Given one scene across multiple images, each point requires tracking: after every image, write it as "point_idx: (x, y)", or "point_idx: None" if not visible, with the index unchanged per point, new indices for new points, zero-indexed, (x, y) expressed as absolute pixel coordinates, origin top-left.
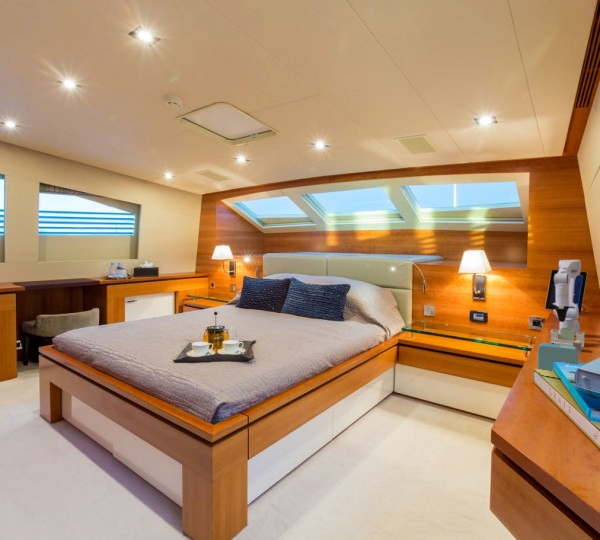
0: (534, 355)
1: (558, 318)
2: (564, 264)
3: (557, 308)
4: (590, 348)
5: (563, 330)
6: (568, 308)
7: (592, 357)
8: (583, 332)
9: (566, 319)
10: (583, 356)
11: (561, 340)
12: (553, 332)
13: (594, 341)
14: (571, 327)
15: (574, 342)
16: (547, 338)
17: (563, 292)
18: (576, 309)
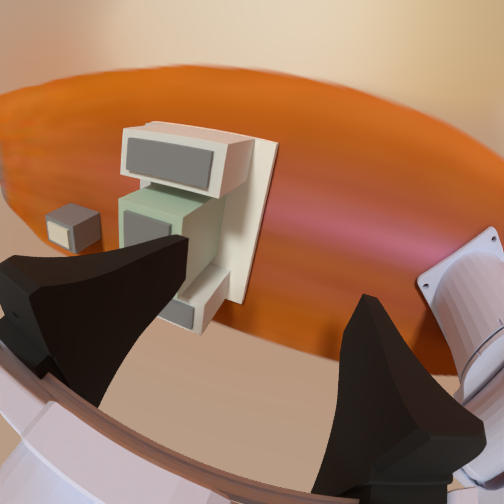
0: (5, 95)
1: (150, 241)
2: None
3: (5, 302)
4: None
5: (122, 216)
6: (312, 488)
7: (40, 237)
8: (196, 330)
9: (477, 356)
10: (36, 217)
11: (141, 180)
12: (125, 145)
13: (308, 353)
14: (448, 336)
15: (50, 220)
16: (321, 119)
17: None
18: (461, 483)
